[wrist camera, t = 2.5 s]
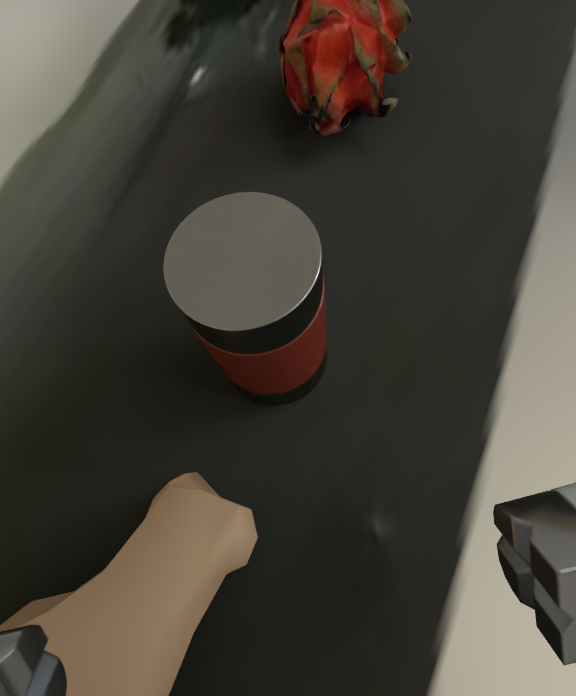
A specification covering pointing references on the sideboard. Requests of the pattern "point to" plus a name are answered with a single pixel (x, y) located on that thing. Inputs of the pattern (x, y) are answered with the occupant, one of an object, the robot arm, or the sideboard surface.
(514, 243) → the sideboard surface
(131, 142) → the sideboard surface
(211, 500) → the squash
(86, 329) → the sideboard surface
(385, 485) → the sideboard surface
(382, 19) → the dragon fruit
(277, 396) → the tin
